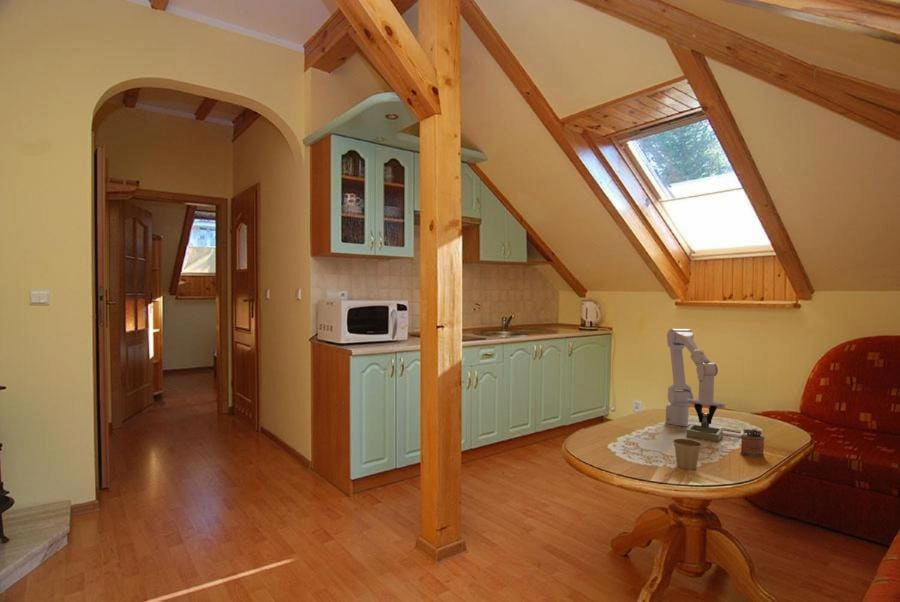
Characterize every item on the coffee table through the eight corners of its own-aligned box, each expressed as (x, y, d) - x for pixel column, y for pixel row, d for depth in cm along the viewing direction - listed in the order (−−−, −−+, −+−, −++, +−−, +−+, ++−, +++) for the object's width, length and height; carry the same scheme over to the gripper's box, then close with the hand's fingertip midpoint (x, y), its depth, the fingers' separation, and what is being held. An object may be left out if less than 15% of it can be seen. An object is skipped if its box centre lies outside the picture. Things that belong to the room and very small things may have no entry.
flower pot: (694, 462, 182) (695, 438, 182) (706, 472, 173) (707, 446, 173) (667, 461, 183) (668, 437, 182) (678, 471, 173) (679, 445, 173)
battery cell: (700, 427, 217) (700, 413, 217) (702, 425, 219) (702, 412, 219) (707, 428, 215) (708, 414, 215) (709, 427, 217) (710, 413, 217)
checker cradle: (715, 433, 222) (715, 431, 222) (719, 428, 230) (719, 426, 230) (741, 437, 216) (741, 435, 216) (744, 432, 224) (744, 430, 224)
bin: (686, 436, 216) (686, 429, 216) (692, 430, 225) (692, 424, 225) (718, 442, 209) (718, 434, 209) (722, 435, 218) (722, 428, 218)
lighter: (761, 454, 193) (762, 428, 193) (765, 457, 190) (766, 431, 190) (738, 453, 194) (739, 427, 194) (742, 456, 191) (743, 429, 191)
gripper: (685, 389, 218) (684, 421, 218) (724, 394, 209) (722, 427, 209) (689, 387, 223) (688, 418, 224) (726, 392, 215) (725, 424, 215)
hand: (705, 422), depth 217 cm, fingers closed on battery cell, 3 cm apart
